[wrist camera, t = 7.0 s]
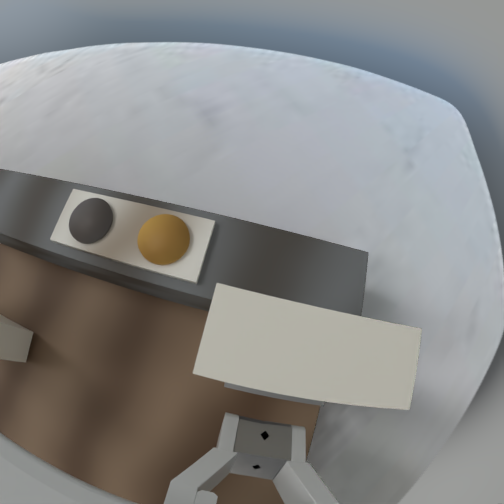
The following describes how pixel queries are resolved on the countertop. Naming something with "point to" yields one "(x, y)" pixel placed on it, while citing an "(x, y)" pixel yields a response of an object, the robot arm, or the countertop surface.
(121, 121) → the countertop surface
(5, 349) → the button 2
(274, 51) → the countertop surface
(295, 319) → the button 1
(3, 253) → the console
